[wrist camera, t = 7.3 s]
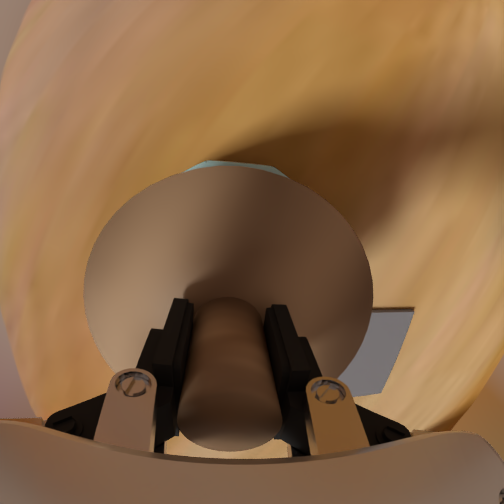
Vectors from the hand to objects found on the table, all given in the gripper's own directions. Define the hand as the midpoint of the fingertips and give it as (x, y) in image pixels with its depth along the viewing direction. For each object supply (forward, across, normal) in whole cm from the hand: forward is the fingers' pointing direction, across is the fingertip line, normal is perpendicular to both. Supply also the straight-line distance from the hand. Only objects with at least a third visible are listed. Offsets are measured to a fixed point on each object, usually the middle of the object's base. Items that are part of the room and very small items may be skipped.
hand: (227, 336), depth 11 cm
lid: (+1, 0, 0) cm, 1 cm away
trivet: (+14, -14, +12) cm, 23 cm away
